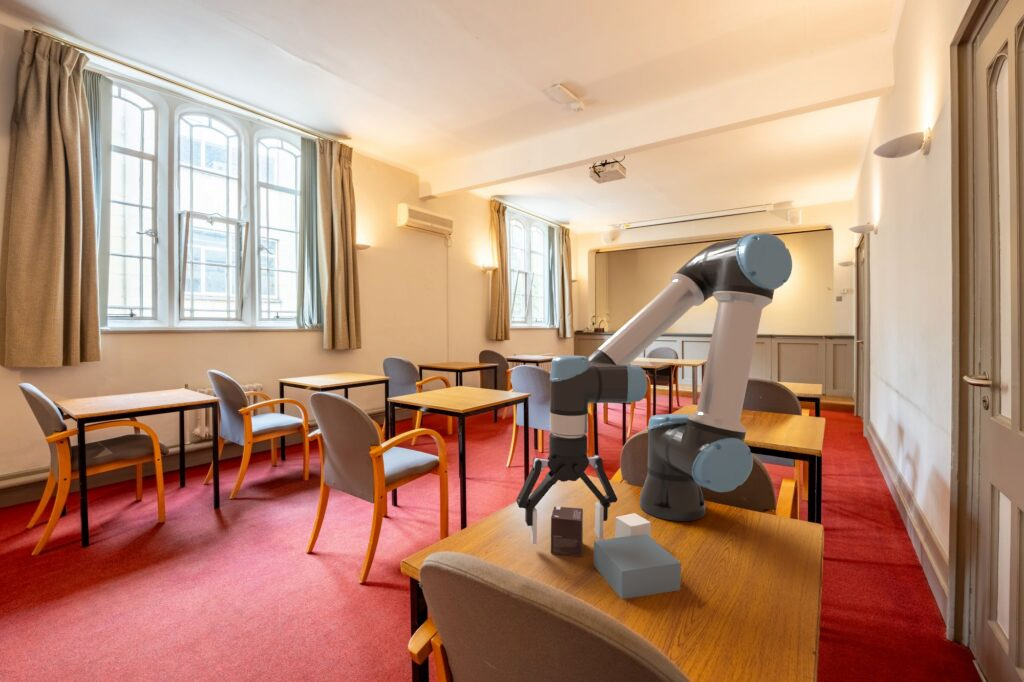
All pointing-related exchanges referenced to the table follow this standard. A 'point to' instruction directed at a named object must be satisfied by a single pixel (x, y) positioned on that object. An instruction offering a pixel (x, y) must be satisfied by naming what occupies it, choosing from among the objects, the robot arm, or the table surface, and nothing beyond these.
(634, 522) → the white cube
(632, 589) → the slate block
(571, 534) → the box
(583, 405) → the robot arm
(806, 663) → the table surface
